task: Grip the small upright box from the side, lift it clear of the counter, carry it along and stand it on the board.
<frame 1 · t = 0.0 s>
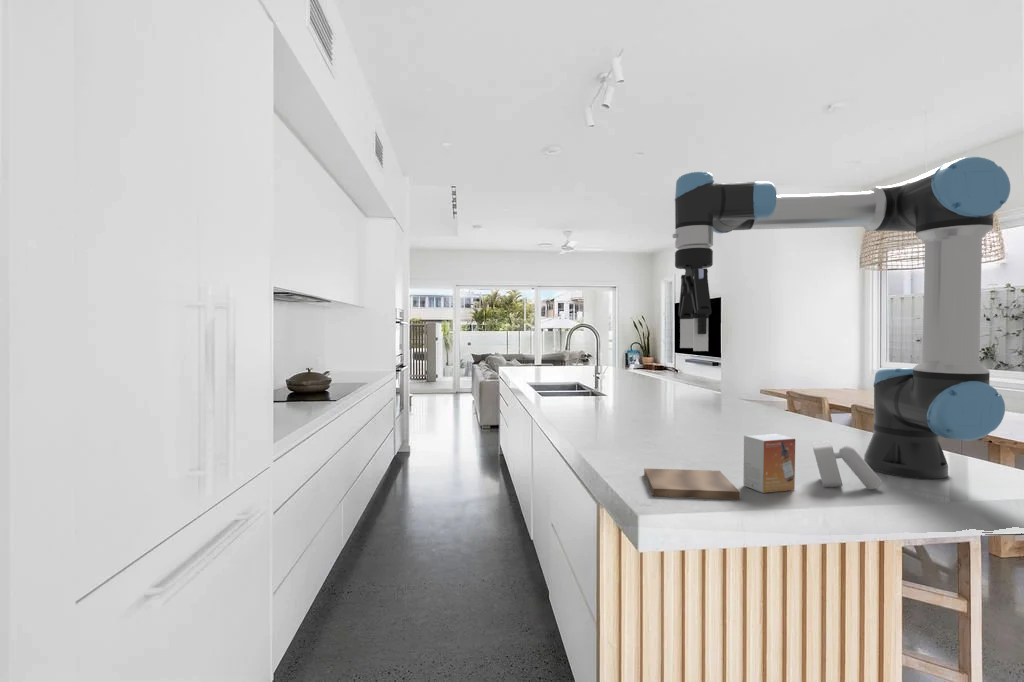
hand: (693, 349, 109), 28 cm above the counter, tool pointing down, fingers open, 13 cm apart
board: (688, 486, 105), on the counter
small box: (768, 488, 104), on the counter
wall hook: (845, 487, 105), on the counter
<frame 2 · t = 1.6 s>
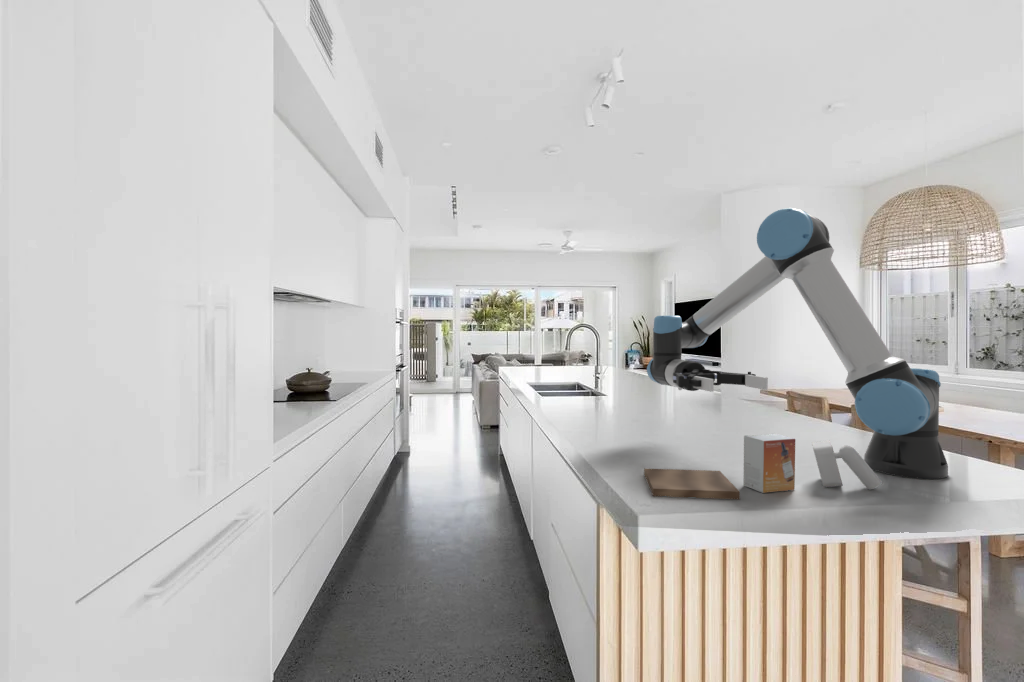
hand: (739, 384, 113), 20 cm above the counter, tool horizontal, fingers open, 13 cm apart
nothing on the counter moved.
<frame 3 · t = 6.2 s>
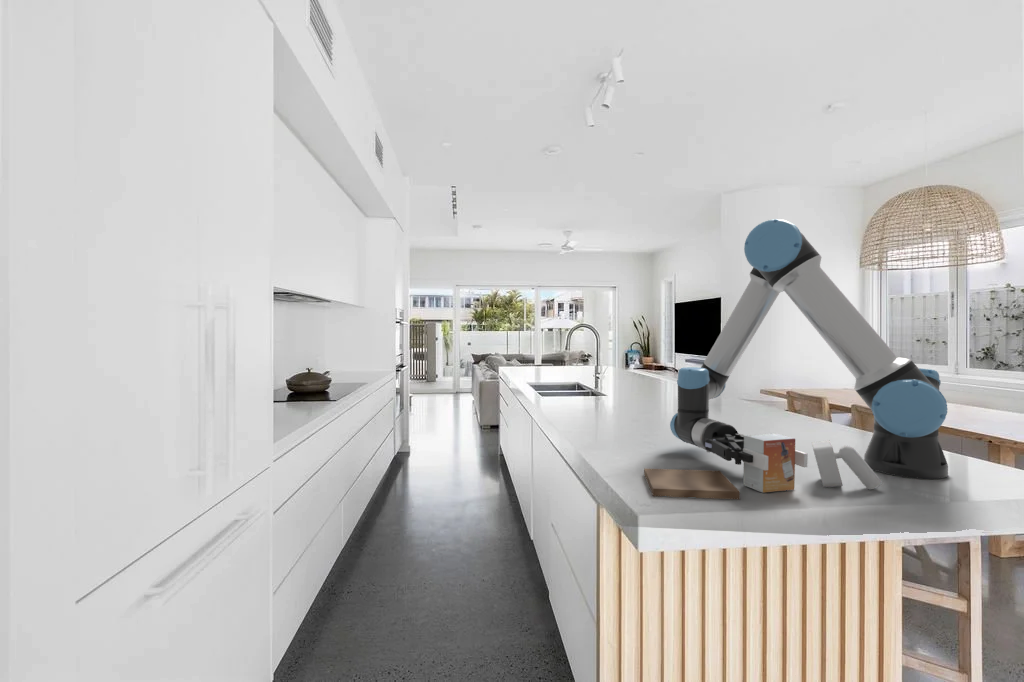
hand: (786, 461, 99), 7 cm above the counter, tool horizontal, fingers closed on small box, 8 cm apart
small box: (768, 488, 104), on the counter, touching gripper
everything else where it was.
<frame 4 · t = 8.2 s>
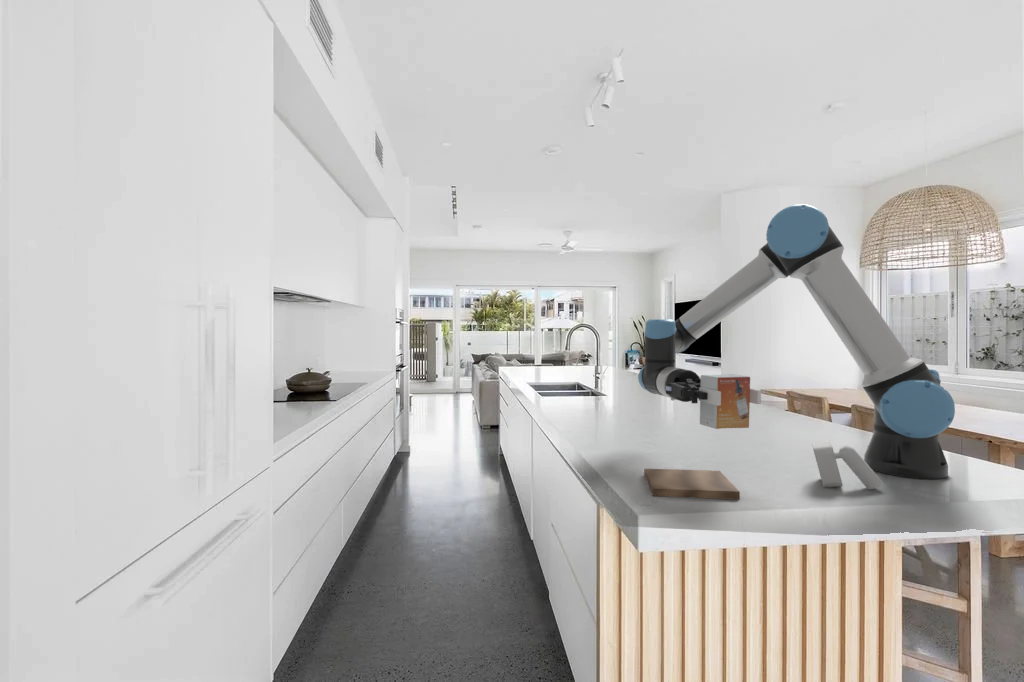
hand: (739, 397, 100), 19 cm above the counter, tool horizontal, fingers closed on small box, 8 cm apart
small box: (724, 427, 105), point 12 cm above the counter, touching gripper
everything else where it was.
when the fingers open (9 cm above the counter, at t = 10.7 s): small box drops 1 cm, resting on board.
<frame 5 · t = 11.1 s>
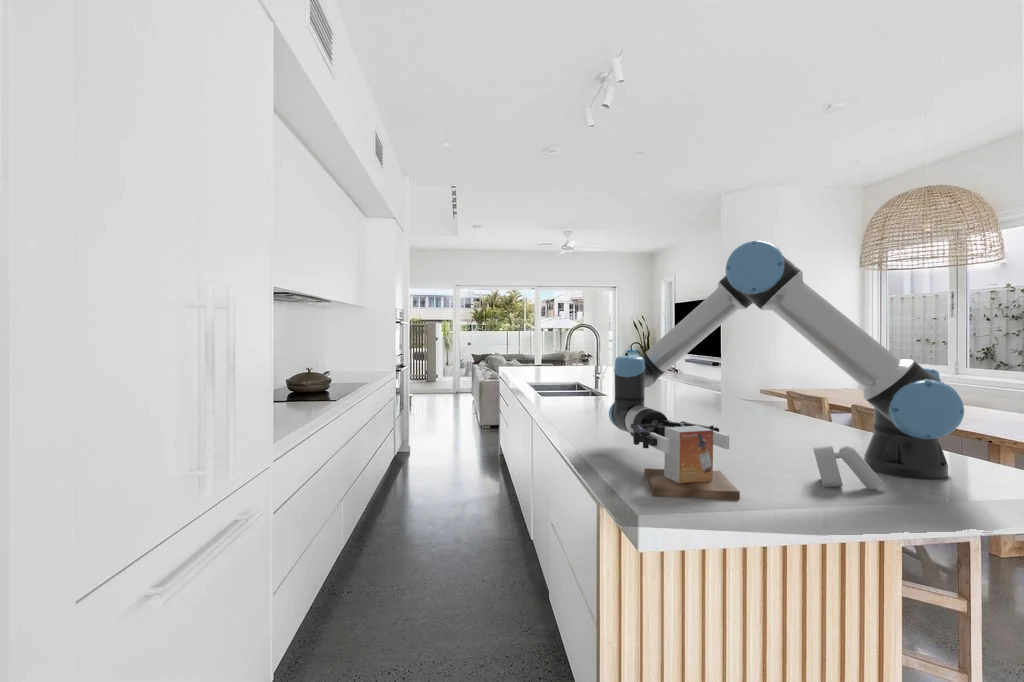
hand: (698, 444, 102), 9 cm above the counter, tool horizontal, fingers open, 13 cm apart
small box: (688, 480, 105), point 1 cm above the counter, touching board
everything else where it was.
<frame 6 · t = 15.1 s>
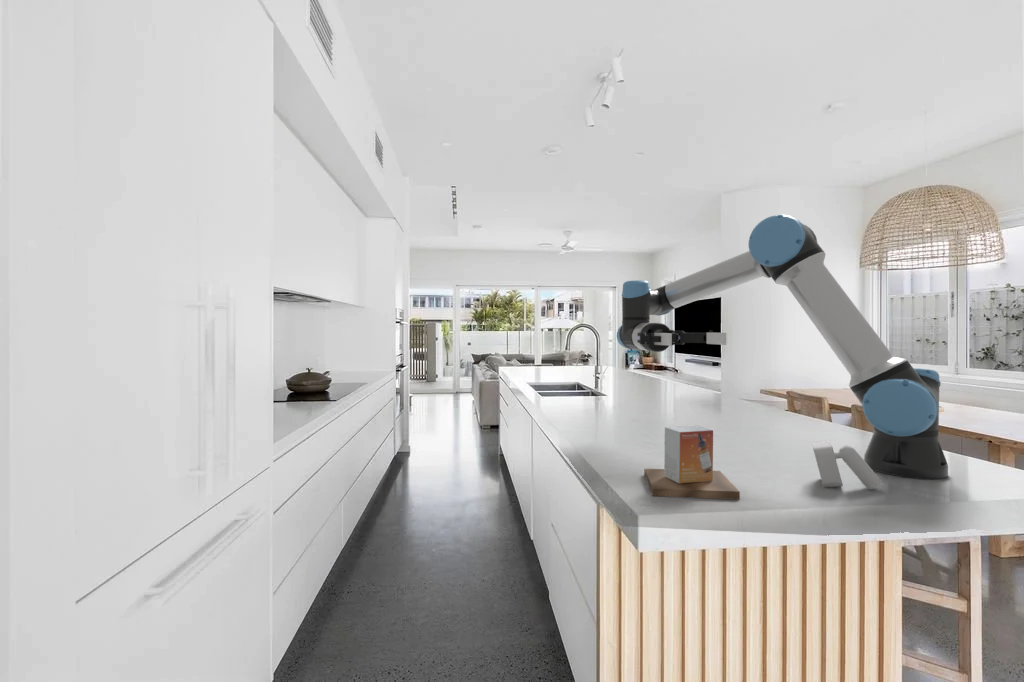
hand: (697, 339, 114), 30 cm above the counter, tool horizontal, fingers open, 13 cm apart
nothing on the counter moved.
at the end: small box inside the target area on the board (0.1 cm from its centre), point 1.3 cm above the board's base; small box tilted 0°; the gripper is holding nothing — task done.
